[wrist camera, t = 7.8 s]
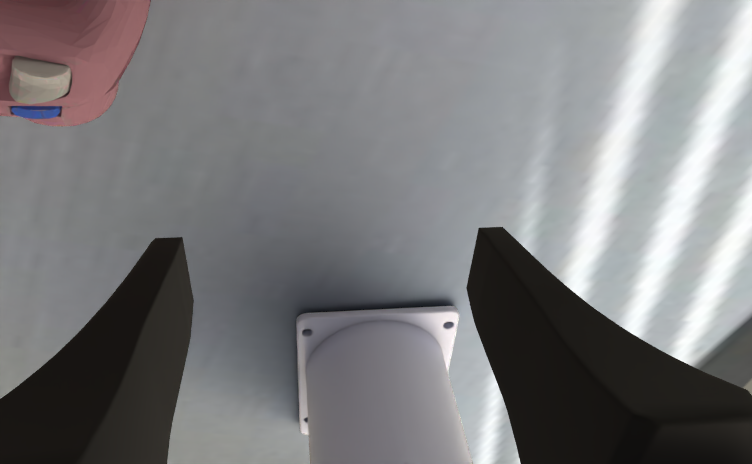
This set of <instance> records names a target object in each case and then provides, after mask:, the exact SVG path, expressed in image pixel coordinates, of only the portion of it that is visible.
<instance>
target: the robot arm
mask: <svg viewBox="0 0 752 464" xmlns="http://www.w3.org/2000/svg"><path fill="white" fill-rule="evenodd" d="M467 292H468V297H469V301H470V306H471V310H472V314H473V318H474V322H475V325H476V328H477V331H478V333H479V336H480V339H481V341H482V344H483V347H484V349H485V352H486V355H487V357H488V360H489V362H490V365H491V368H492V370H493V373H494V375H495V378H496V381H497V383H498V386H499V388H500V391H501V394H502V396H503V399H504V402H505V405H506V408H507V411H508V415H509V419H510V423H511V426H512V430H513V434H514V438H515V442H516V445H517V449H518V454H519V458H520V462H521V464H752V395H751V394H750V393H749V391H748V390H746V389H743V388H741V387H738V386H736V385H734V384H731V383H729V382H726V381H724V380H722V379H719V378H717V377H714V376H712V375H710V374H707V373H705V372H703V371H700V370H698V369H696V368H694V367H692V366H690V365H688V364H686V363H684V362H682V361H680V360H678V359H676V358H674V357H672V356H670V355H668V354H666V353H664V352H662V351H661V350H659V349H657V348H655V347H653V346H652V345H650V344H648V343H647V342H645V341H643V340H641V339H640V338H638V337H636V336H635V335H633V334H631V333H630V332H628V331H626V330H625V329H623V328H622V327H620V326H619V325H617V324H616V323H614V322H613V321H611V320H610V319H609V318H607V317H606V316H604V315H603V314H601V313H600V312H598V311H597V310H596V309H594V308H593V307H592V306H590V305H589V304H588V303H586V302H585V301H584V300H583V299H581V298H580V297H579V296H578V295H576V294H575V293H574V292H573V291H571V290H570V289H569V288H568V287H567V286H565V285H564V284H563V283H562V282H561V281H560V280H558V279H557V278H556V277H555V276H554V275H553V274H552V273H551V272H549V271H548V270H547V269H546V268H545V267H544V266H543V265H542V264H541V263H540V262H539V261H538V260H536V259H535V258H534V257H533V256H532V255H531V254H530V253H529V252H528V251H527V250H526V249H525V248H524V247H523V246H522V245H521V244H520V243H519V242H518V241H517V240H516V239H515V238H514V237H512V236H511V235H510V234H509V233H508V232H507V231H506V230H505V229H504V228H503V227H490V228H479V230H478V235H477V240H476V244H475V249H474V254H473V259H472V264H471V269H470V274H469V278H468V283H467ZM193 302H194V300H193V294H192V288H191V283H190V277H189V272H188V266H187V260H186V255H185V249H184V243H183V238H182V237H177V238H155V239H154V240H153V241H152V242H151V243H150V245H149V246H148V248H147V249H146V251H145V252H144V253H143V255H142V256H141V258H140V259H139V261H138V262H137V263H136V265H135V266H134V267H133V269H132V270H131V271H130V273H129V274H128V275H127V277H126V278H125V279H124V281H123V282H122V283H121V284H120V286H119V287H118V288H117V289H116V291H115V292H114V293H113V294H112V296H111V297H110V298H109V299H108V301H107V302H106V303H105V304H104V305H103V306H102V307H101V309H100V310H99V311H98V312H97V313H96V314H95V315H94V316H93V317H92V319H91V320H90V321H89V322H88V323H87V324H86V325H85V326H84V327H83V328H82V329H81V330H80V331H79V333H78V334H77V335H76V336H75V337H74V338H73V339H72V340H71V341H70V342H69V343H68V344H66V345H65V346H64V347H63V348H62V349H61V350H60V351H59V352H58V353H57V354H56V355H55V356H54V357H52V358H51V359H50V360H49V361H48V362H47V363H46V364H44V365H43V366H42V367H41V368H40V369H38V370H37V371H36V372H35V373H33V374H32V375H31V376H30V377H29V378H27V379H26V380H25V381H24V382H22V383H21V384H20V385H19V386H17V387H16V388H15V389H13V390H12V391H11V392H9V393H8V394H7V395H5V396H4V397H2V398H1V399H0V464H167V458H168V448H169V439H170V433H171V427H172V421H173V416H174V412H175V407H176V403H177V398H178V393H179V389H180V384H181V380H182V375H183V371H184V366H185V361H186V357H187V352H188V347H189V342H190V337H191V326H192V315H193ZM449 321H450V322H449ZM458 321H459V312H458V309H457V308H456V307H454V306H437V307H417V308H397V309H377V310H356V311H336V312H316V313H304V314H301V315H299V316H298V317H297V320H296V329H297V360H298V390H299V421H300V432H301V433H303V434H305V435H309V455H310V464H473V461H472V458H471V454H470V450H469V447H468V443H467V440H466V436H465V432H464V429H463V425H462V422H461V418H460V414H459V411H458V407H457V403H456V400H455V396H454V393H453V389H452V385H451V382H450V378H449V374H448V370H449V365H450V360H451V355H452V351H453V346H454V341H455V336H456V331H457V326H458ZM446 322H448V323H446ZM305 329H310V330H307V331H306V330H305Z"/></svg>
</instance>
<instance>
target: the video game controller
mask: <svg viewBox="0 0 752 464" xmlns="http://www.w3.org/2000/svg"><path fill="white" fill-rule="evenodd" d="M150 2H151V0H0V116H15V117H23V118H25V119H28V120H30V121H32V122H34V123H37V124H43V125H48V126H75V125H79V124H83V123H87V122H90V121H92V120H94V119H96V118H98V117H100V116H101V115H102V114H103V113H104V112H105V111H106V110H107V109H108V108H109V107H110V106H111V105H112V103H113V101H114V99H115V97H116V94H117V91H118V84H119V80H120V78H121V76H122V75H123V73H124V71H125V69H126V68H127V66H128V64H129V63H130V61H131V59H132V56H133V54H134V52H135V50H136V48H137V46H138V43H139V41H140V38H141V35H142V32H143V29H144V26H145V23H146V20H147V16H148V11H149V6H150Z"/></svg>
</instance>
